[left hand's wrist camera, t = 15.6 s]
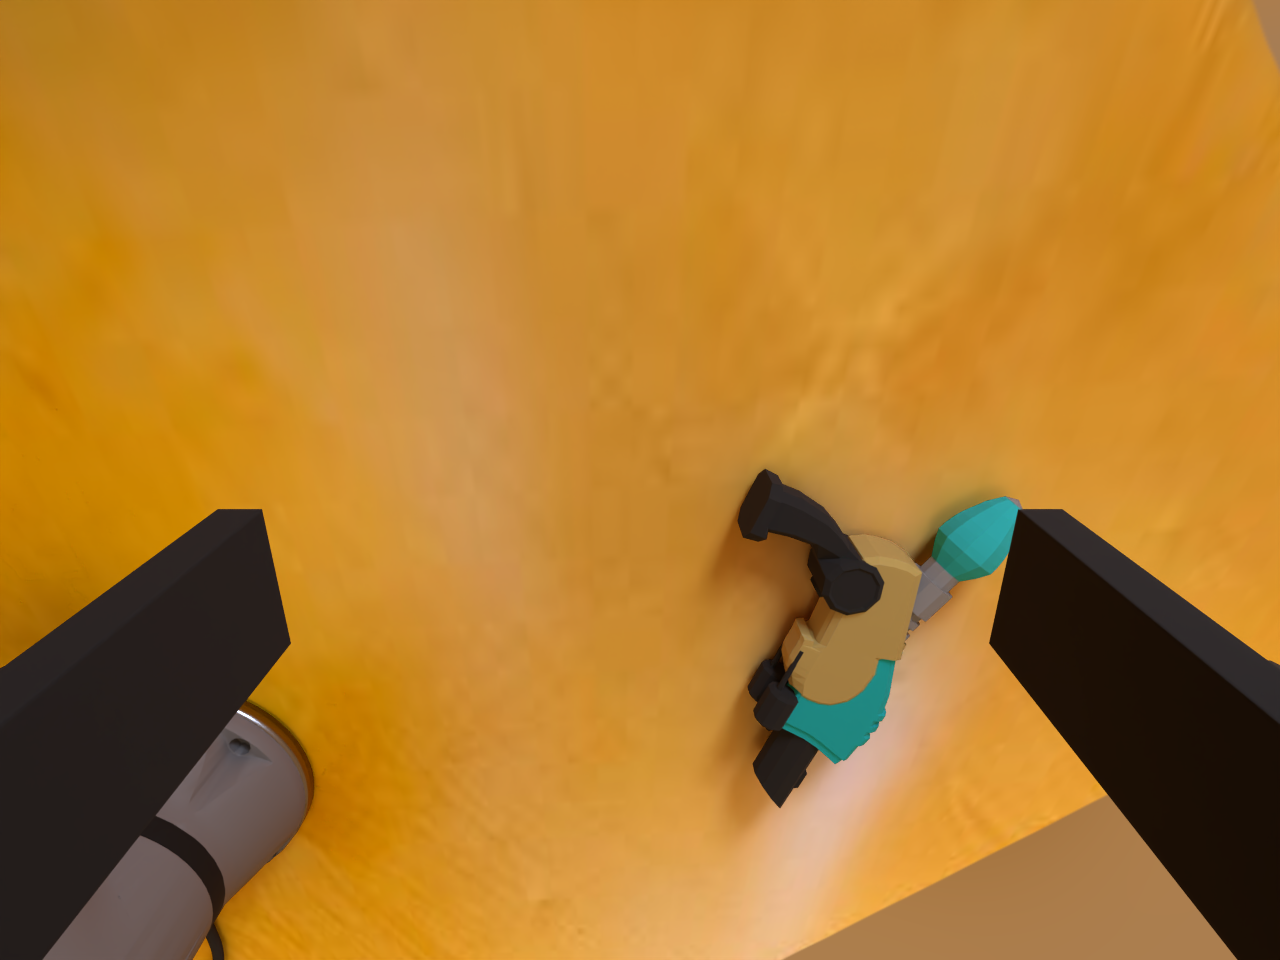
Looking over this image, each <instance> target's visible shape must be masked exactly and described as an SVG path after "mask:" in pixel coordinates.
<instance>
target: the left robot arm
mask: <svg viewBox="0 0 1280 960" xmlns="http://www.w3.org/2000/svg"><path fill="white" fill-rule="evenodd" d="M290 644H291V642H290V637H289V633H288V628H287V623H286V619H285V614H284V609H283V605H282V600H281V595H280V591H279V586H278V582H277V577H276V572H275V568H274V563H273V558H272V554H271V549H270V544H269V540H268V535H267V531H266V526H265V521H264V517H263V512H262V509H217V510H216V511H215V512H213V513H212V514H211V515H209V516H208V517H207V518H205V519H204V520H203V521H201V522H200V523H198V524H197V525H196V526H194V527H193V528H192V529H190V530H189V531H188V532H186V533H185V534H184V535H182V536H181V537H179V538H178V539H177V540H175V541H174V542H173V543H171V544H170V545H169V546H167V547H166V548H164V549H163V550H162V551H160V552H159V553H158V554H156V555H155V556H154V557H152V558H151V559H150V560H148V561H147V562H145V563H144V564H143V565H141V566H140V567H139V568H137V569H136V570H135V571H133V572H132V573H131V574H129V575H128V576H126V577H125V578H124V579H122V580H121V581H120V582H118V583H117V584H116V585H114V586H113V587H112V588H110V589H109V590H107V591H106V592H105V593H103V594H102V595H101V596H99V597H98V598H97V599H95V600H94V601H93V602H91V603H90V604H88V605H87V606H86V607H84V608H83V609H82V610H80V611H79V612H78V613H76V614H75V615H73V616H72V617H71V618H69V619H68V620H67V621H65V622H64V623H63V624H61V625H60V626H59V627H57V628H56V629H54V630H53V631H52V632H50V633H49V634H48V635H46V636H45V637H44V638H42V639H41V640H40V641H38V642H37V643H35V644H34V645H33V646H31V647H30V648H29V649H27V650H26V651H25V652H23V653H22V654H21V655H19V656H18V657H16V658H15V659H14V660H12V661H11V662H10V663H8V664H7V665H6V666H4V667H2V668H0V960H193V958H194V956H195V955H196V953H197V951H198V949H199V948H200V946H201V944H202V942H203V941H204V939H205V937H206V938H207V941H208V943H209V945H210V948H211V951H212V955H213V960H224V952H223V946H222V942H221V939H220V937H219V934H218V932H217V930H216V927H215V925H214V922H215V920H216V918H217V917H218V915H219V913H220V912H221V910H222V908H223V907H224V905H225V904H226V903H227V902H228V901H229V900H230V899H231V898H232V897H233V896H234V895H235V894H236V893H237V892H238V891H239V890H240V889H241V888H242V887H243V886H244V885H245V884H246V883H247V882H248V881H249V880H250V879H251V878H252V877H253V876H254V875H255V874H256V873H257V872H258V871H259V870H260V869H261V868H262V867H263V866H264V865H265V864H266V863H268V862H269V861H270V860H271V859H273V858H274V857H275V856H276V855H278V854H279V853H280V852H281V851H282V850H283V849H284V848H285V847H286V846H287V844H288V843H289V842H290V841H291V839H292V838H293V837H294V835H295V834H296V833H297V831H298V830H299V828H300V826H301V824H302V822H303V820H304V819H305V817H306V815H307V813H308V811H309V809H310V806H311V804H312V800H313V794H314V779H313V773H312V769H311V766H310V763H309V761H308V758H307V756H306V754H305V752H304V751H303V749H302V747H301V746H300V744H299V743H298V741H297V740H296V739H295V738H294V736H293V735H292V734H291V733H290V732H289V731H288V730H287V729H286V728H285V727H284V726H283V725H282V724H281V723H280V722H279V721H277V720H276V719H275V718H274V717H272V716H271V715H269V714H268V713H267V712H265V711H263V710H262V709H260V708H259V707H257V706H255V705H253V704H251V703H249V702H247V701H246V700H247V699H248V697H249V696H250V695H251V693H252V692H253V691H254V690H255V688H256V687H257V686H258V685H259V683H260V682H261V681H262V679H263V678H264V677H265V676H266V674H267V673H268V672H269V671H270V669H271V668H272V667H273V665H274V664H275V663H276V662H277V660H278V659H279V658H280V657H281V655H282V654H283V653H284V651H285V650H286V649H287V648H288V646H289V645H290ZM989 644H990V645H991V646H992V648H993V649H994V650H995V651H996V653H997V654H998V655H999V657H1000V658H1001V659H1002V660H1003V662H1004V663H1005V664H1006V665H1007V667H1008V668H1009V669H1010V671H1011V672H1012V673H1013V674H1014V676H1015V677H1016V678H1017V679H1018V681H1019V682H1020V683H1021V685H1022V686H1023V687H1024V688H1025V690H1026V691H1027V692H1028V693H1029V695H1030V696H1031V697H1032V699H1033V700H1034V701H1035V702H1036V704H1037V705H1038V706H1039V707H1040V709H1041V710H1042V711H1043V713H1044V714H1045V715H1046V716H1047V718H1048V719H1049V720H1050V721H1051V723H1052V724H1053V725H1054V727H1055V728H1056V729H1057V730H1058V732H1059V733H1060V734H1061V736H1062V737H1063V738H1064V739H1065V741H1066V742H1067V743H1068V744H1069V746H1070V747H1071V748H1072V750H1073V751H1074V752H1075V753H1076V755H1077V756H1078V757H1079V758H1080V760H1081V761H1082V762H1083V764H1084V765H1085V766H1086V767H1087V769H1088V770H1089V771H1090V772H1091V774H1092V775H1093V776H1094V778H1095V779H1096V780H1097V781H1098V783H1099V784H1100V785H1101V786H1102V788H1103V789H1104V790H1105V792H1106V793H1107V794H1108V795H1109V797H1110V798H1111V799H1112V800H1113V802H1114V803H1115V804H1116V806H1117V807H1118V808H1119V809H1120V811H1121V812H1122V813H1123V814H1124V816H1125V817H1126V818H1127V819H1128V821H1129V822H1130V823H1131V825H1132V826H1133V827H1134V828H1135V830H1136V831H1137V832H1138V834H1139V835H1140V836H1141V837H1142V839H1143V840H1144V841H1145V842H1146V844H1147V845H1148V846H1149V848H1150V849H1151V850H1152V851H1153V853H1154V854H1155V855H1156V857H1157V858H1158V859H1159V860H1160V862H1161V863H1162V864H1163V865H1164V867H1165V868H1166V869H1167V871H1168V872H1169V873H1170V874H1171V876H1172V877H1173V878H1174V879H1175V881H1176V882H1177V883H1178V885H1179V886H1180V887H1181V888H1182V890H1183V891H1184V892H1185V894H1186V895H1187V896H1188V897H1189V899H1190V900H1191V901H1192V902H1193V904H1194V905H1195V906H1196V908H1197V909H1198V910H1199V911H1200V912H1201V914H1202V915H1203V916H1204V918H1205V919H1206V920H1207V922H1208V923H1209V924H1210V925H1211V927H1212V928H1213V929H1214V930H1215V932H1216V933H1217V934H1218V936H1219V937H1220V938H1221V939H1222V941H1223V942H1224V943H1225V944H1226V946H1227V947H1228V948H1229V950H1230V951H1231V952H1232V953H1233V955H1234V956H1235V957H1236V958H1237V960H1280V665H1278V664H1276V663H1274V662H1272V661H1268V660H1266V659H1265V658H1264V657H1262V656H1261V655H1259V654H1258V653H1257V652H1255V651H1254V650H1253V649H1251V648H1250V647H1249V646H1247V645H1246V644H1245V643H1243V642H1242V641H1240V640H1239V639H1238V638H1236V637H1235V636H1234V635H1232V634H1231V633H1230V632H1228V631H1227V630H1226V629H1224V628H1223V627H1221V626H1220V625H1219V624H1217V623H1216V622H1215V621H1213V620H1212V619H1211V618H1209V617H1208V616H1207V615H1205V614H1204V613H1202V612H1201V611H1200V610H1198V609H1197V608H1196V607H1194V606H1193V605H1192V604H1190V603H1189V602H1187V601H1186V600H1185V599H1183V598H1182V597H1181V596H1179V595H1178V594H1177V593H1175V592H1174V591H1173V590H1171V589H1170V588H1168V587H1167V586H1166V585H1164V584H1163V583H1162V582H1160V581H1159V580H1158V579H1156V578H1155V577H1154V576H1152V575H1151V574H1149V573H1148V572H1147V571H1145V570H1144V569H1143V568H1141V567H1140V566H1139V565H1137V564H1136V563H1135V562H1133V561H1132V560H1130V559H1129V558H1128V557H1126V556H1125V555H1124V554H1122V553H1121V552H1120V551H1118V550H1117V549H1116V548H1114V547H1113V546H1111V545H1110V544H1109V543H1107V542H1106V541H1105V540H1103V539H1102V538H1101V537H1099V536H1098V535H1096V534H1095V533H1094V532H1092V531H1091V530H1090V529H1088V528H1087V527H1086V526H1084V525H1083V524H1082V523H1080V522H1079V521H1077V520H1076V519H1075V518H1073V517H1072V516H1071V515H1069V514H1068V513H1067V512H1065V511H1064V510H1063V509H1018V512H1017V517H1016V521H1015V526H1014V531H1013V535H1012V540H1011V544H1010V549H1009V554H1008V558H1007V563H1006V568H1005V572H1004V577H1003V582H1002V586H1001V591H1000V595H999V600H998V605H997V609H996V614H995V619H994V623H993V628H992V633H991V637H990V642H989Z"/></svg>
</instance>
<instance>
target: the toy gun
mask: <svg viewBox="0 0 1280 960" xmlns="http://www.w3.org/2000/svg"><path fill="white" fill-rule="evenodd" d="M1018 509H1022V507H1021V504H1020V502H1019V500H1017V499H1013V498H1009V497H1006V496H1005V497H1001V498H996V499H992V500H988V501H985V502H982V503H980V504H978V505H976V506H973V507H971V508H969V509H966V510H964V511H962V512H960V513H958V514H957V515H955V516H953V517H952V518H951V519H949V520H948V521H947V522H945V523H944V524H943V525H942V526H941V527H940V528H939V529H938V532H937V535H936V538H935V542H934V547H933V552H932V556H931V557H930V558H929V559H928V560H927V561H926V562H925V563H924V564H923V565H922V566H920V565H918V564H917V563H914V562H913V560H912V559H911V558H910V556H909V555H908V554H907V553H906V551H905V550H904V549H902V548H901V547H899V546H898V545H897V544H895V543H894V542H892V541H890V540H887V539H884V538H881V537H877V536H872V535H866V534H860V535H850V536H848V535H845V534H843V533H842V531H841V530H840V528H839V526H838V525H837V523H836V522H835V521H834V519H833V518H832V517H831V516H830V515H829V513H828V512H827V511H826V510H825V509H824V507H822V506H821V505H819V504H818V503H817V502H815V501H814V500H812V499H811V498H809V497H808V496H806V495H805V494H803V493H802V492H800V491H798V490H796V489H793V488H791V487H788V486H786V485H784V484H782V482H781V481H780V479H779V477H778V475H776V474H774V473H772V472H770V471H768V470H766V469H764V470H763V471H762V472H761V473H759V474H758V476H757V477H756V479H755V481H754V483H753V485H752V487H751V489H750V491H749V493H748V495H747V496H746V498H745V500H744V502H743V504H742V506H741V509H740V513H739V517H738V524H739V527H740V530H741V533H742V536H743V538H747V539H751V540H754V541H762V540H766V539H767V534H768V532H771V533H775V534H780V535H784V536H788V537H791V538H794V539H797V540H800V541H803V542H806V543H808V544H811V547H812V548H811V550H810V555H809V560H808V567H809V569H810V571H811V573H812V575H813V576H812V577H811V579H810V580H811V582H812V584H813V586H814V588H815V590H816V592H817V593H818V595H819V597H820V598H819V600H818V602H817V604H816V606H815V608H814V610H813V613H812V615H811V617H810V619H809V620H807V621H804V618H796V619H795V621H794V624H793V625H792V627H791V629H790V631H789V632H788V634H787V636H786V637H785V639H784V641H783V643H782V645H781V646H780V648H779V650H778V652H777V653H776V655H775V657H774V658H773V660H768V659H766V660H764V661H763V662H762V663H761V665H760V667H759V668H758V670H757V672H756V673H755V675H754V677H753V679H752V680H751V682H750V684H749V685H748V690H749V693H750V695H751V696H752V697H753V698H754V700H755V701H757V702H758V703H757V705H756V706H755V708H754V710H753V711H754V715H755V718H756V719H757V721H758V722H759V723H760V724H761V725H762V726H764V727H765V728H766V729H767V730H769V731H770V730H773V732H772V733H771V735H770V736H769V738H768V740H767V741H766V743H765V745H764V746H763V748H762V749H761V751H760V753H759V754H758V756H757V757H756V759H755V761H754V762H753V767H754V772H755V774H756V776H757V778H758V779H759V781H760V783H761V785H762V786H763V788H764V789H765V791H766V792H767V793H768V795H769V796H770V798H771V799H772V800H773V801H774V802H775V804H776V805H777V806H778V807H779V808H781V806H782V805H783V803H784V802H785V800H786V799H787V797H788V796H789V794H790V793H791V791H792V790H793V788H798V787H799V785H800V784H801V782H802V781H803V779H804V778H805V776H806V775H807V772H806V768H807V767H808V765H809V764H810V762H811V761H812V759H813V758H814V756H815V755H816V753H817V751H818V750H820V751H821V752H822V753H823V754H824V755H826V756H827V757H828V758H829V759H830V760H831V761H832V762H833V763H834V764H836V763H838V762H839V761H841V760H843V761H844V760H846V759H847V758H848V757H849V756H850V755H851V754H852V753H853V751H854V750H855V749H856V748H857V747H858V746H862V745H864V744H865V743H866V742H867V741H868V740H869V739H870V733H872V732H875V731H876V729H877V728H878V726H879V722H880V721H882V720H883V718H884V717H885V714H886V711H885V705H886V703H887V700H888V697H889V694H890V688H891V682H892V677H893V671H894V666H895V661H896V660H900V659H901V655H902V651H903V649H904V648H905V646H906V644H905V640H906V639H907V638H908V637H909V636H910V635H909V634H908V632H907V631H909V630H912V631H914V630H915V629H916V628H917V627H918V626H919V625H920V623H919V622H918V621H919V620H920V619H922V620H924V621H925V622H926V621H927V620H928V619H929V618H930V617H931V616H932V615H934V614H935V613H936V612H937V611H938V610H939V609H940V608H941V607H942V606H943V605H944V604H946V603H947V602H948V601H949V600H950V599H951V598H952V596H951V594H950V593H949V591H950V590H951V589H952V588H953V587H954V586H955V585H956V584H957V583H958V582H960V581H965V580H971V579H976V578H980V577H983V576H987V575H990V574H992V573H993V572H994V571H995V570H996V569H997V568H998V566H999V565H1000V564H1001V563H1002V561H1003V560H1004V559H1005V557H1006V556H1007V554H1008V553H1009V549H1010V544H1011V540H1012V535H1013V531H1014V526H1015V521H1016V517H1017V512H1018ZM781 656H783V662H784V665H783V664H781V663H779V662H778V661H779V659H780V658H781Z"/></svg>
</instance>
